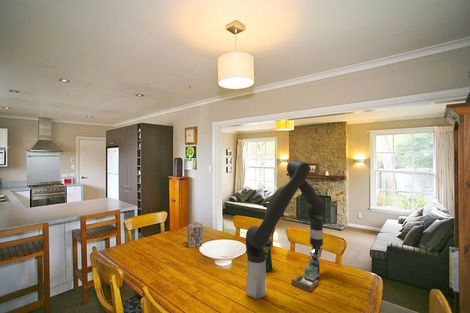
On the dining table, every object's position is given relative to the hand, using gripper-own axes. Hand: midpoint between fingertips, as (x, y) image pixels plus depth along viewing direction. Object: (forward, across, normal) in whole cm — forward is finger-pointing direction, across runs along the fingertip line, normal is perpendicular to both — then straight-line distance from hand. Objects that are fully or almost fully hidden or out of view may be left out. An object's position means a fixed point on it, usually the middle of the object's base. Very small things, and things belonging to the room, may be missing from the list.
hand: (316, 265), depth 140 cm
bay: (+5, -17, 0) cm, 17 cm away
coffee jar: (+5, -15, +27) cm, 31 cm away
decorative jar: (+5, -17, +92) cm, 94 cm away
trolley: (+5, -8, 0) cm, 9 cm away
